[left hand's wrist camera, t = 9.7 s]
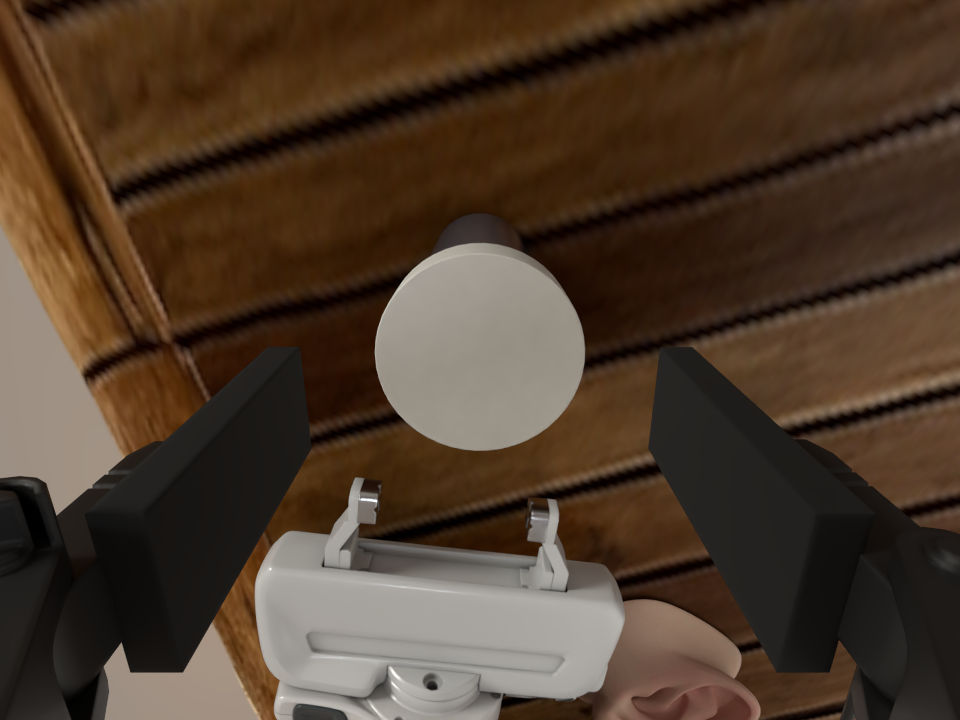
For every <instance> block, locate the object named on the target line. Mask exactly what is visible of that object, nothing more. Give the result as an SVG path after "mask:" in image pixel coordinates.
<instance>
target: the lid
mask: <svg viewBox="0 0 960 720" xmlns="http://www.w3.org/2000/svg"><path fill="white" fill-rule="evenodd" d="M375 359H376V368H377V372H378V376H379V380H380V383H381V385H382V388H383V390H384V393H385V394H386V396H387V398H388V400H389V402H390V403H391V405H392V406H393V407H394V409H395V410H396V411H397V413H398V414H399V415H400V416H401V417H402V418H403V419H404V420H405V421H406V422H407V423H408V424H409V425H410V426H412V427H413V428H414V429H415V430H417V431H418V432H420V433H421V434H423V435H424V436H426V437H428V438H430V439H432V440H434V441H436V442H438V443H441V444H444V445H447V446H450V447H454V448H459V449H464V450H475V451H482V450H495V449H502V448H506V447H510V446H514V445H516V444H519V443H521V442H524V441H526V440H528V439H530V438H532V437H534V436H536V435H538V434H539V433H540V432H542V431H543V430H545V429H546V428H548V427H549V426H550V425H551V424H552V423H553V422H554V421H555V420H556V419H557V418H558V417H559V416H560V415H561V414H562V413H563V411H564V410H565V409H566V408H567V406H568V405H569V403H570V402H571V400H572V399H573V397H574V394H575V392H576V390H577V388H578V386H579V383H580V380H581V377H582V373H583V367H584V362H585V344H584V335H583V331H582V327H581V323H580V320H579V318H578V315H577V313H576V311H575V309H574V307H573V305H572V304H571V302H570V300H569V298H568V297H567V295H566V293H565V292H564V290H563V289H562V287H561V285H560V284H559V283H558V281H557V280H556V279H555V278H554V276H553V275H552V274H551V273H550V272H549V271H548V270H547V269H546V268H545V267H544V266H543V265H541V264H540V263H539V262H537V261H536V260H535V259H533V258H531V257H530V256H528V255H526V254H524V253H522V252H520V251H518V250H515V249H512V248H510V247H506V246H502V245H498V244H489V243H470V244H464V245H458V246H454V247H451V248H448V249H445V250H442V251H440V252H438V253H436V254H434V255H432V256H430V257H429V258H427V259H426V260H424V261H422V262H421V263H420V264H419V265H418V266H416V267H415V268H414V269H413V270H412V271H411V272H410V273H409V274H408V275H407V276H406V278H405V279H404V280H403V281H402V283H401V284H400V286H399V287H398V289H397V290H396V292H395V294H394V295H393V297H392V298H391V300H390V302H389V303H388V305H387V307H386V309H385V311H384V313H383V315H382V318H381V321H380V324H379V327H378V331H377V336H376V344H375Z"/></svg>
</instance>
